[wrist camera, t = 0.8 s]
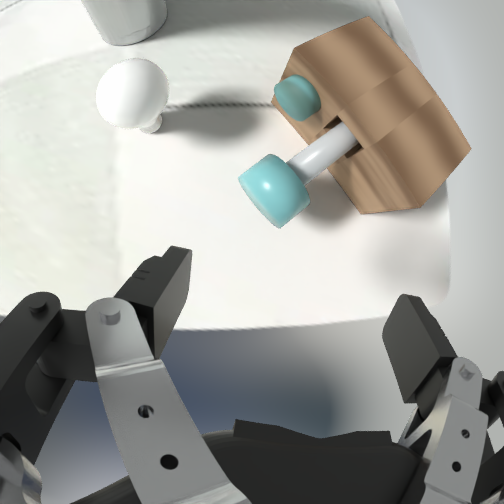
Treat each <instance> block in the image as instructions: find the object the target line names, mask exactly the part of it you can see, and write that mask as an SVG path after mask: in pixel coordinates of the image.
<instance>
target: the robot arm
mask: <svg viewBox="0 0 504 504" xmlns="http://www.w3.org/2000/svg"><path fill="white" fill-rule="evenodd" d="M81 1H82V3H83V5H84V7H85V8H86V10H87V12H88V14H89V16H90V17H91V19H92V21H93V23H94V24H95V26H96V28H97V30H98V31H99V33H100V35H101V37H102V38H103V40H104V41H105V42H107V43H109V44H111V45H117V46H122V45H129V44H133V43H137V42H139V41H142V40H144V39H146V38H148V37H149V36H151V35H152V34H154V33H155V32H156V31H158V30H159V28H160V27H161V26H162V25H163V24H164V22H165V20H166V17H167V9H166V4H165V0H81ZM191 261H192V250H190V249H186V248H181V247H176V246H170V247H169V249H168V250H167V251H166V252H165V254H164V255H163V256H162V257H159V256H153V257H151V258H149V259H147V260H145V261H143V262H142V264H141V265H140V266H139V267H138V268H137V270H136V271H135V272H134V273H133V274H132V277H130V278H129V279H128V280H127V281H126V283H125V284H124V285H123V286H122V287H121V289H120V290H119V291H118V292H117V293H116V295H115V296H114V297H113V298H103V299H99V300H97V301H95V302H93V303H92V304H91V305H90V306H89V307H88V308H87V310H86V311H78V310H67V309H62V308H61V303H60V300H59V298H58V297H57V296H56V295H54V294H52V293H49V292H36V293H33V294H30V295H28V296H26V297H25V298H24V299H23V300H22V301H21V302H20V303H19V304H18V305H17V306H16V307H15V308H14V309H13V310H12V311H11V312H10V313H9V314H8V315H7V317H6V318H5V319H4V320H3V321H2V322H1V323H0V504H41V490H42V480H41V477H40V474H39V472H38V470H37V469H36V467H35V466H34V464H35V462H36V460H37V457H38V455H39V453H40V450H41V448H42V446H43V444H44V441H45V440H46V437H47V435H48V433H49V431H50V429H51V427H52V425H53V423H54V421H55V418H56V416H57V415H58V413H59V410H60V409H61V407H62V405H63V403H64V401H65V399H66V397H67V395H68V393H69V391H70V389H71V388H72V386H73V384H74V382H75V380H80V381H90V382H98V385H99V389H100V392H101V396H102V400H103V403H104V407H105V410H106V413H107V417H108V420H109V423H110V426H111V429H112V432H113V435H114V438H115V441H116V444H117V446H118V449H119V452H120V454H121V457H122V459H123V462H124V465H125V467H126V469H127V472H128V474H129V475H128V476H126V477H124V478H122V479H120V480H118V481H116V482H115V483H113V484H111V485H109V486H107V487H105V488H103V489H101V490H99V491H97V492H95V493H92V494H90V495H88V496H86V497H84V498H82V499H79V500H77V501H75V502H73V503H70V504H504V446H503V448H502V449H500V450H499V451H498V452H497V453H496V454H494V451H493V447H492V445H491V441H490V438H489V435H488V432H487V429H488V428H489V427H490V426H491V425H492V424H493V423H494V422H495V421H496V420H497V419H498V418H499V417H500V419H501V421H502V424H503V427H504V371H500V372H498V373H497V375H496V376H495V377H494V379H493V380H492V381H490V380H487V379H484V378H482V374H481V371H480V370H479V368H478V367H477V366H476V365H475V364H474V363H473V362H472V361H470V360H469V359H466V358H463V357H458V356H457V355H456V353H455V351H454V349H453V347H452V346H451V344H450V342H449V340H448V339H447V337H446V336H445V334H444V332H443V330H442V329H441V327H440V325H439V324H438V322H437V320H436V319H435V318H434V317H433V316H432V315H431V314H430V312H429V311H428V309H427V307H426V306H425V304H424V303H423V301H422V300H421V298H420V297H418V296H412V295H407V294H402V295H400V296H399V298H398V300H397V302H396V304H395V306H394V308H393V310H392V312H391V314H390V316H389V318H388V319H387V322H386V323H385V326H384V328H383V333H382V334H383V335H382V338H383V342H384V345H385V347H386V350H387V353H388V356H389V358H390V362H391V364H392V367H393V370H394V373H395V376H396V379H397V382H398V385H399V389H400V392H401V395H402V398H403V401H404V403H417V405H418V406H417V407H416V408H415V409H414V411H413V412H412V414H411V416H410V418H409V420H408V423H407V425H406V427H405V429H404V431H403V433H402V435H401V437H400V439H399V441H398V443H394V442H392V439H391V435H390V431H356V432H352V433H348V434H343V435H338V436H333V437H328V438H322V439H321V438H315V437H311V436H308V435H305V434H302V433H298V432H295V431H292V430H289V429H286V428H283V427H280V426H276V425H269V424H262V423H255V422H249V421H243V420H238V419H236V420H235V423H234V426H233V429H232V430H223V431H215V432H210V433H205V434H202V435H200V433H199V431H198V429H197V428H196V426H195V424H194V422H193V421H192V419H191V417H190V415H189V413H188V411H187V410H186V408H185V406H184V404H183V402H182V400H181V398H180V396H179V394H178V392H177V391H176V388H175V386H174V384H173V382H172V380H171V379H170V376H169V374H168V372H167V370H166V368H165V366H164V364H163V362H162V361H161V359H159V358H160V356H161V353H162V351H163V349H164V347H165V345H166V342H167V340H168V338H169V336H170V334H171V332H172V330H173V328H174V325H175V323H176V321H177V319H178V317H179V315H180V313H181V311H182V309H183V306H184V304H185V302H186V299H187V295H188V291H189V282H190V271H191Z"/></svg>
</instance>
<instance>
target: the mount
mask: <svg viewBox="0 0 504 504" xmlns="http://www.w3.org/2000/svg"><path fill="white" fill-rule="evenodd" d="M274 93H275V94H274V96H273V99H272V101H271V103H272V104H273V105H274V106H275V107H276V108H277V109H278V110H279V111H280V112H281V114H282V115H283V116H284V117H285V118H286V119H287V120H288V122H289V123H290V124H291V125H292V126H293V127H294V128H295V130H296V131H297V132H298V133H299V134H300V136H301V137H302V138H303V139H304V140H305V142H306V143H307V144H308V145H310V144H312V143H313V142H314V141H316V140H317V139H319V138H320V137H321V136H323V135H324V134H325V133H327V132H328V131H330V130H331V129H332V128H334V127H335V126H336V125H338V124H339V123H341V122H342V121H343V123H344V124H345V125H346V126H347V127H348V129H349V130H350V131H351V132H352V134H353V135H354V136H355V138H356V139H357V140H358V141H359V143H358V144H357V145H355V146H354V147H353V148H352V149H350V150H349V151H348V152H346V153H345V154H344V155H343V156H341V157H340V158H339V159H338V160H336V161H335V162H334V163H332V164H331V165H330V166H329V167H327V169H328V170H329V172H330V173H331V174H332V175H333V177H334V178H335V179H336V181H337V182H338V183H339V185H340V186H341V187H342V189H343V190H344V191H345V193H346V194H347V195H348V197H349V198H350V200H351V201H352V202H353V204H354V205H355V207H356V208H357V209H358V211H359V212H360V214H368V213H377V212H385V211H394V210H403V209H413V208H420V207H421V206H422V205H423V204H424V203H425V202H426V201H427V200H428V199H429V198H430V197H431V196H432V194H433V193H434V192H435V191H436V190H437V189H438V188H439V187H440V185H441V184H442V183H443V182H444V181H445V180H446V179H447V178H448V176H449V175H450V174H451V173H452V172H453V171H454V169H455V168H456V167H457V166H458V165H459V163H460V162H461V161H462V160H463V159H464V157H465V156H466V155H467V154H468V153H469V151H470V150H471V147H470V145H469V144H468V142H467V140H466V138H465V137H464V135H463V133H462V131H461V130H460V128H459V127H458V125H457V123H456V122H455V120H454V119H453V117H452V116H451V114H450V112H449V111H448V110H447V108H446V106H445V105H444V104H443V102H442V101H441V99H440V98H439V96H438V95H437V94H436V92H435V91H434V90H433V88H432V87H431V85H430V84H429V83H428V81H427V80H426V79H425V78H424V76H423V75H422V74H421V72H420V71H419V70H418V69H417V67H416V66H415V65H414V64H413V63H412V61H411V60H410V59H409V58H408V57H407V56H406V54H405V53H404V52H403V51H402V50H401V49H400V48H399V47H398V45H397V44H396V43H395V42H394V41H393V40H392V39H391V38H390V37H389V36H388V35H387V34H386V33H385V32H384V31H383V30H382V29H381V28H380V27H379V26H378V25H377V24H376V23H375V22H374V21H373V20H372V19H371V18H370V17H369V16H368V17H365V18H362V19H359V20H357V21H354V22H351V23H349V24H346V25H344V26H341V27H339V28H337V29H334V30H332V31H330V32H327V33H325V34H323V35H320V36H318V37H316V38H314V39H312V40H310V41H307V42H305V43H303V44H301V45H299V46H297V47H295V48H294V49H293V52H292V54H291V56H290V59H289V61H288V63H287V66H286V68H285V70H284V73H283V75H282V77H281V80H280V82H279V83H278V84H276V85H275V87H274Z"/></svg>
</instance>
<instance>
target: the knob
mask: <svg viewBox="0 0 504 504" xmlns="http://www.w3.org/2000/svg"><path fill="white" fill-rule="evenodd" d="M358 143H359V141H358V140H357V139H356V138H355V136H354V135H353V134H352V132H351V131H350V130H349V129H348V127H347V126H346V125H345V124H344V123H343V121H342V122H341V123H339V124H338V125H336V126H335V127H334V128H332V129H331V130H330V131H328V132H327V133H325V134H324V135H323V136H321V137H320V138H319V139H317V140H316V141H314V142H313V143H312V144H310V145H309V146H308V147H306V148H305V149H304V150H302V151H301V152H300V153H298V154H297V155H296V156H294V157H293V158H292V159H290V160H289V161H288V162H286V163H285V162H284V161H283V160H281V159H280V158H279V157H277V156H275V155H273V154H268V155H267V156H265V157H264V158H263V159H261V160H260V161H259V162H257V163H256V164H255V165H253V166H252V167H251V168H250V169H248V170H247V171H246V172H244V173H243V174H242V175H240V176H239V177H238V180H239V182H240V184H241V186H242V188H243V190H244V191H245V193H246V194H247V195H248V197H249V198H250V200H251V201H252V202H253V203H254V205H255V206H256V207H257V208H258V210H259V211H260V212H261V213H262V214H263V215H264V216H265V217H266V218H267V219H268V220H269V221H270V222H271V223H272V224H273V225H274V226H276V227H277V228H281V227H283V226H284V225H285V224H286V223H287V222H289V221H290V220H291V219H292V218H293V217H295V216H296V215H297V214H298V213H299V212H301V211H302V210H303V209H304V208H306V207H307V206H308V205H309V204H310V198H309V195H308V192H307V190H306V188H305V187H304V186H305V185H306V184H307V183H309V182H310V181H311V180H312V179H314V178H315V177H316V176H317V175H319V174H320V173H321V172H322V171H324V170H325V169H326V168H327V167H329V166H330V165H331V164H332V163H334V162H335V161H336V160H338V159H339V158H340V157H341V156H343V155H344V154H345V153H346V152H348V151H349V150H350V149H352V148H353V147H354V146H355V145H357V144H358Z"/></svg>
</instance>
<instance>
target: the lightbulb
mask: <svg viewBox="0 0 504 504" xmlns="http://www.w3.org/2000/svg"><path fill="white" fill-rule="evenodd" d="M168 97H169V82H168V79H167V76H166V74H165V73H164V71H163V70H162V69H161V68H160V67H159V66H158V65H157V64H155V63H154V62H152V61H149V60H146V59H141V58H133V59H127V60H124V61H121V62H119V63H117V64H116V65H114V66H113V67H111V68H110V69H109V70H108V71H107V72H106V73H105V74H104V76H103V77H102V79H101V81H100V83H99V85H98V88H97V94H96V102H97V107H98V110H99V112H100V114H101V115H102V117H103V118H104V119H105V120H106V121H107V122H108V123H110V124H111V125H113V126H115V127H118V128H122V129H135V128H139V129H140V130H141V131H142V132H144V133H153V132H155V131H156V130H158V129H159V127H160V126H161V124H162V117H161V112H162V111H163V109H164V108H165V106H166V103H167V101H168Z"/></svg>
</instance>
